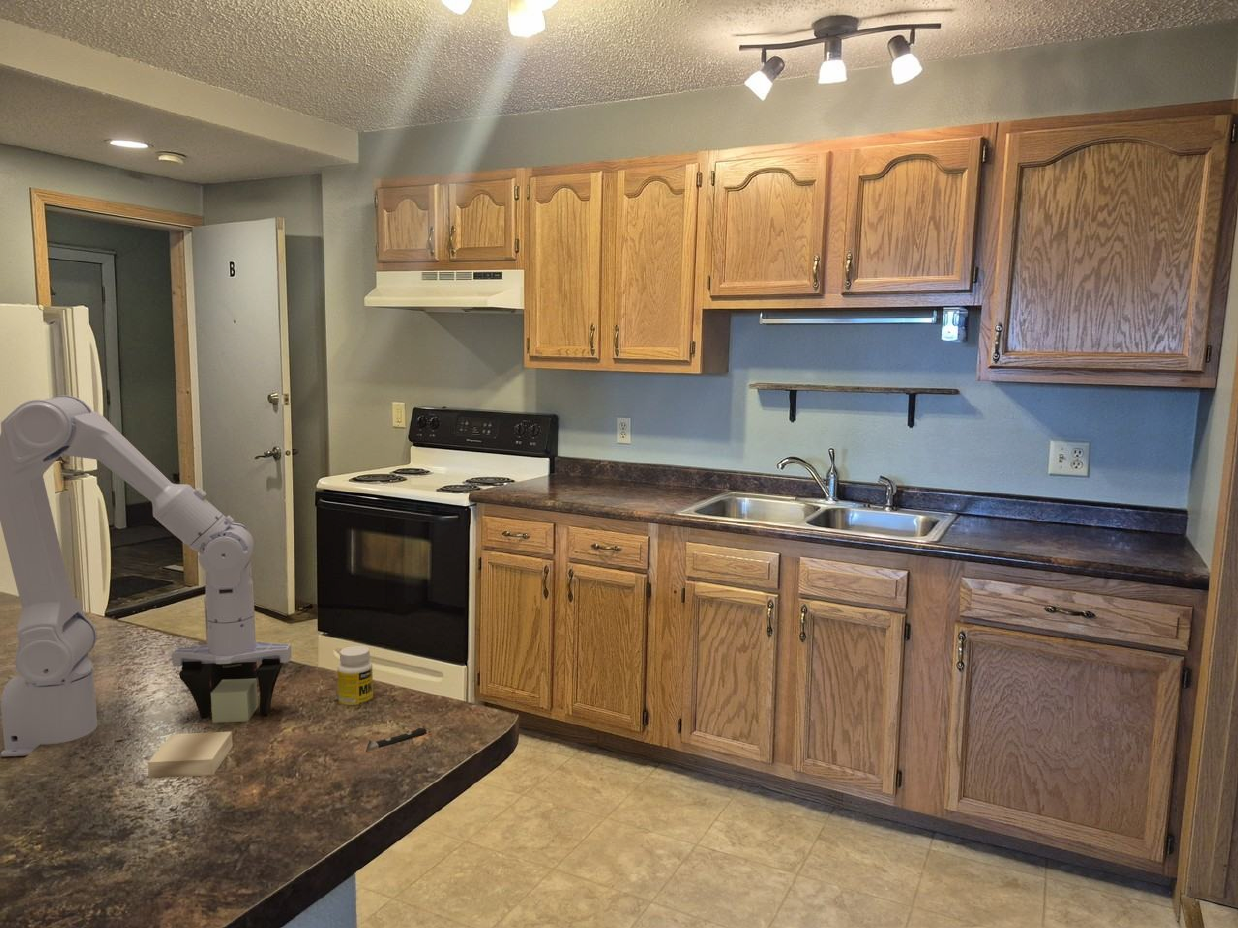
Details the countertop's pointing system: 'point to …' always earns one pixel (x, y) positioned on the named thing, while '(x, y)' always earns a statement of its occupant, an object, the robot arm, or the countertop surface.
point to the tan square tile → (190, 755)
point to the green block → (234, 700)
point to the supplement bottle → (355, 676)
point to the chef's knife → (395, 739)
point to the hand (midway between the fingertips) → (235, 713)
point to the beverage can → (229, 667)
